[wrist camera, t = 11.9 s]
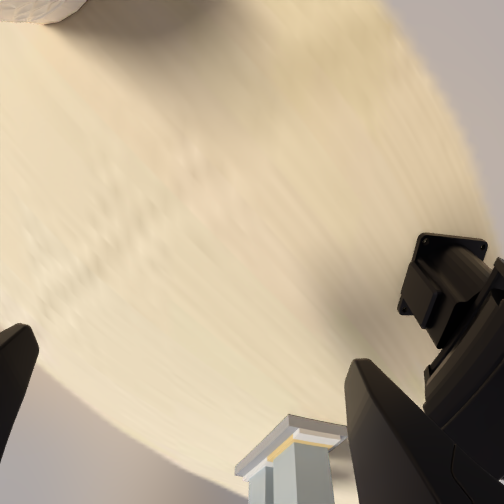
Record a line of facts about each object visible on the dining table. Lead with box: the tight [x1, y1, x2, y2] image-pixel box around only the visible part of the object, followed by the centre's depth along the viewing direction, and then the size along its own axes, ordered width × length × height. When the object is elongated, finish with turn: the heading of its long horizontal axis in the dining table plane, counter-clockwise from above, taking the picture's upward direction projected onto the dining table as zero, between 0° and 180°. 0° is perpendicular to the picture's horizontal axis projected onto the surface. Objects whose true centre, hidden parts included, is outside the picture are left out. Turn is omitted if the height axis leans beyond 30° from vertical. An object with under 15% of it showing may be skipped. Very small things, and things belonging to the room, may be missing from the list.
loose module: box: [273, 442, 335, 504], centre depth 23 cm, size 4×4×11 cm
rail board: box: [235, 414, 348, 482], centre depth 30 cm, size 14×7×2 cm, turn 156°
